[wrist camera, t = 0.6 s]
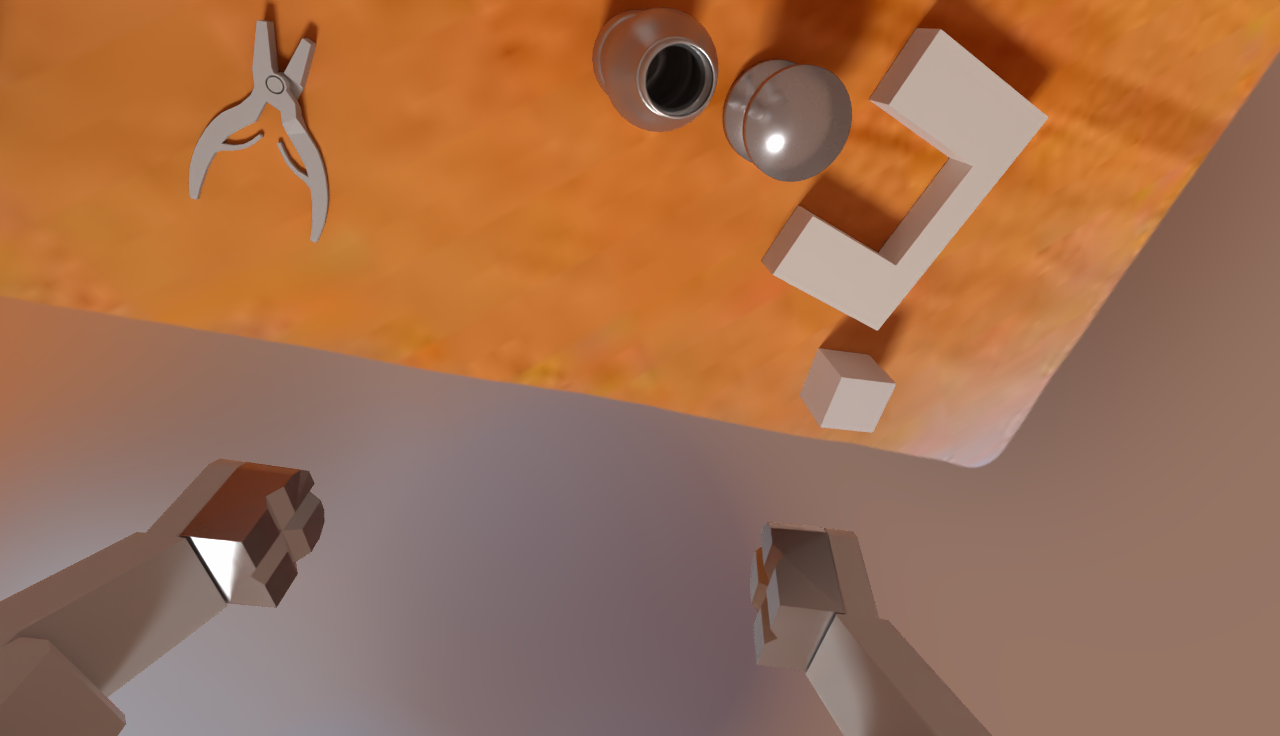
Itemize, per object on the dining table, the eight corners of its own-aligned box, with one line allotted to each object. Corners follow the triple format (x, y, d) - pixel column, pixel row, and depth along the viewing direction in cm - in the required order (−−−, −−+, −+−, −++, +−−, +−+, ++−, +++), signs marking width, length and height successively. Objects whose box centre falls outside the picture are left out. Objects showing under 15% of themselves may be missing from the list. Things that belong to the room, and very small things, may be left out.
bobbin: (758, 38, 46) (788, 41, 40) (834, 92, 49) (873, 102, 43) (704, 133, 50) (725, 149, 44) (779, 179, 52) (808, 199, 46)
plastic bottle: (674, 102, 48) (741, 149, 31) (591, 103, 47) (612, 150, 30) (677, 10, 45) (754, 4, 28) (588, 8, 44) (610, 2, 27)
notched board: (916, 28, 47) (940, 28, 44) (1020, 111, 52) (1048, 117, 49) (761, 261, 56) (772, 274, 53) (861, 315, 61) (877, 330, 58)
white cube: (848, 400, 66) (872, 432, 61) (799, 394, 65) (820, 427, 60) (869, 353, 63) (896, 383, 58) (818, 347, 62) (841, 377, 57)
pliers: (180, 198, 46) (204, -7, 40) (191, 193, 47) (216, -6, 41) (316, 247, 49) (358, 64, 43) (322, 240, 50) (364, 62, 44)
